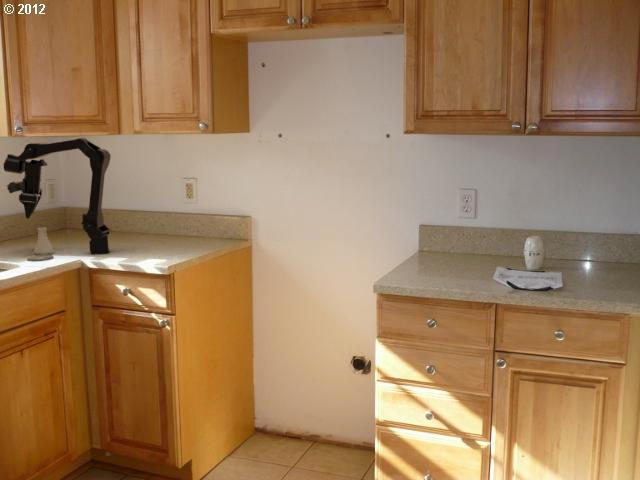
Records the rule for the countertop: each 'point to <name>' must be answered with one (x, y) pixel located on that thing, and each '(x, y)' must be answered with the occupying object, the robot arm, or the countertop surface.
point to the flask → (43, 243)
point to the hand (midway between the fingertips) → (29, 216)
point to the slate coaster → (40, 257)
